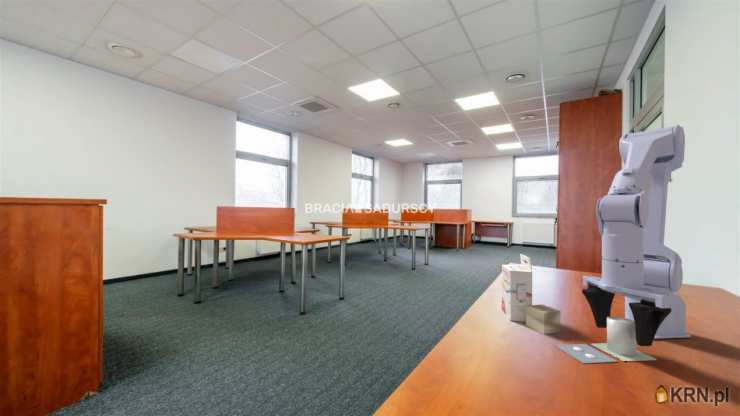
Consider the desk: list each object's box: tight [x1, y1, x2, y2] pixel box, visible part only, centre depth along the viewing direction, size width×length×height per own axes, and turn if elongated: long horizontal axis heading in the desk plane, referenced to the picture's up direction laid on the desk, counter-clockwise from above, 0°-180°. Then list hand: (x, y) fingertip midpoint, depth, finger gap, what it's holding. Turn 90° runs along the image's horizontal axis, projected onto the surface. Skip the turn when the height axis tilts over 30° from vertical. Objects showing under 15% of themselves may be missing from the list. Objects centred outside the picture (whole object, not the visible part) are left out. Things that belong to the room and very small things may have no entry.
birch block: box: [525, 304, 562, 335], centre depth 62 cm, size 4×4×4 cm
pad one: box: [590, 342, 658, 362], centre depth 52 cm, size 6×6×1 cm
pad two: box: [553, 343, 618, 364], centre depth 51 cm, size 6×6×1 cm
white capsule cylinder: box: [606, 315, 637, 356], centre depth 52 cm, size 4×4×6 cm
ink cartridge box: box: [501, 253, 533, 323], centre depth 70 cm, size 9×5×15 cm, turn 168°
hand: (621, 335), depth 52 cm, fingers open, 7 cm apart
